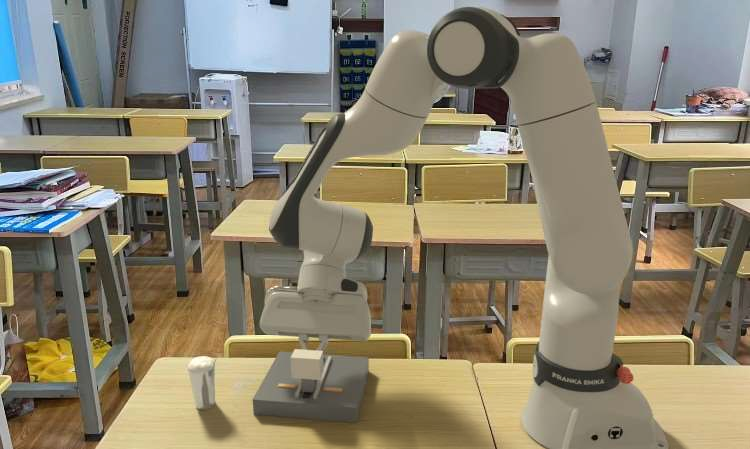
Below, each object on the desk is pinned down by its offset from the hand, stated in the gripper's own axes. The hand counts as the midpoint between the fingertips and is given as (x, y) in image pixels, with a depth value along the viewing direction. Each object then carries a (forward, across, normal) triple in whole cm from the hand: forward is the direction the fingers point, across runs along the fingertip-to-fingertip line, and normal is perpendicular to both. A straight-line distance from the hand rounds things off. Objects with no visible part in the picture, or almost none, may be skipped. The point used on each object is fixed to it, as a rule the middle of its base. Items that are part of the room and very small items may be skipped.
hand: (310, 361), depth 96 cm
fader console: (+4, 0, +7) cm, 8 cm away
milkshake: (+8, -18, +3) cm, 20 cm away
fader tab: (+5, 0, +2) cm, 5 cm away
